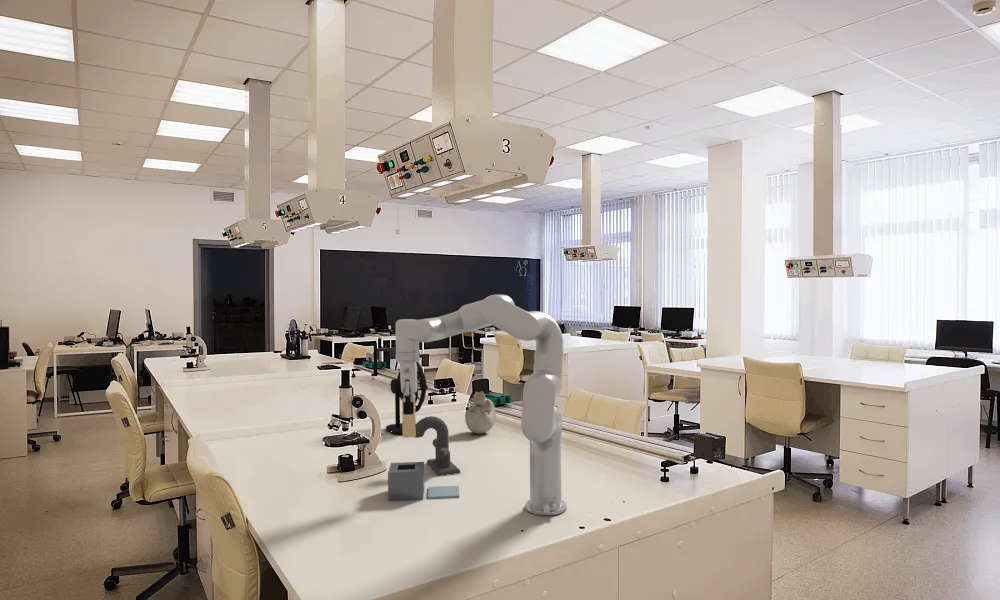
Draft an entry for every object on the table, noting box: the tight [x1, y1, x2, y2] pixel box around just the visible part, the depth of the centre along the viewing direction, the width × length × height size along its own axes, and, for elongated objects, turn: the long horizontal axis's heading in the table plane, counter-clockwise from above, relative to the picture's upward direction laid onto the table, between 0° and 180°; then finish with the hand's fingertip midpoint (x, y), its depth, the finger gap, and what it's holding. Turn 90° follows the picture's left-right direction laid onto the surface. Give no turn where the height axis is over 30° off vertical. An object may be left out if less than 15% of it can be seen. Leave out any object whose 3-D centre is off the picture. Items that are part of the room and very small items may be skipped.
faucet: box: [413, 415, 461, 477], centre depth 223 cm, size 18×16×20 cm
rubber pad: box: [427, 485, 460, 500], centre depth 197 cm, size 10×10×1 cm
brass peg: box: [401, 397, 417, 439], centre depth 196 cm, size 4×4×12 cm
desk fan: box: [385, 361, 429, 435], centre depth 288 cm, size 27×18×35 cm, turn 32°
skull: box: [464, 391, 496, 435], centre depth 280 cm, size 13×15×20 cm
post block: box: [387, 461, 425, 502], centre depth 196 cm, size 11×11×9 cm
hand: (408, 412), depth 196 cm, fingers closed on brass peg, 4 cm apart
